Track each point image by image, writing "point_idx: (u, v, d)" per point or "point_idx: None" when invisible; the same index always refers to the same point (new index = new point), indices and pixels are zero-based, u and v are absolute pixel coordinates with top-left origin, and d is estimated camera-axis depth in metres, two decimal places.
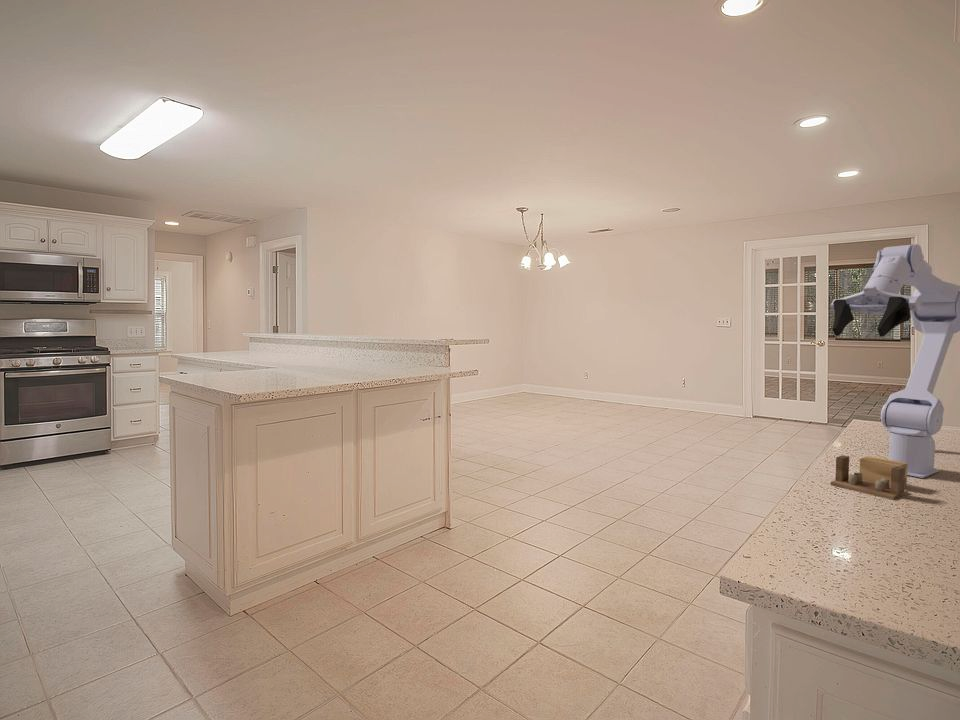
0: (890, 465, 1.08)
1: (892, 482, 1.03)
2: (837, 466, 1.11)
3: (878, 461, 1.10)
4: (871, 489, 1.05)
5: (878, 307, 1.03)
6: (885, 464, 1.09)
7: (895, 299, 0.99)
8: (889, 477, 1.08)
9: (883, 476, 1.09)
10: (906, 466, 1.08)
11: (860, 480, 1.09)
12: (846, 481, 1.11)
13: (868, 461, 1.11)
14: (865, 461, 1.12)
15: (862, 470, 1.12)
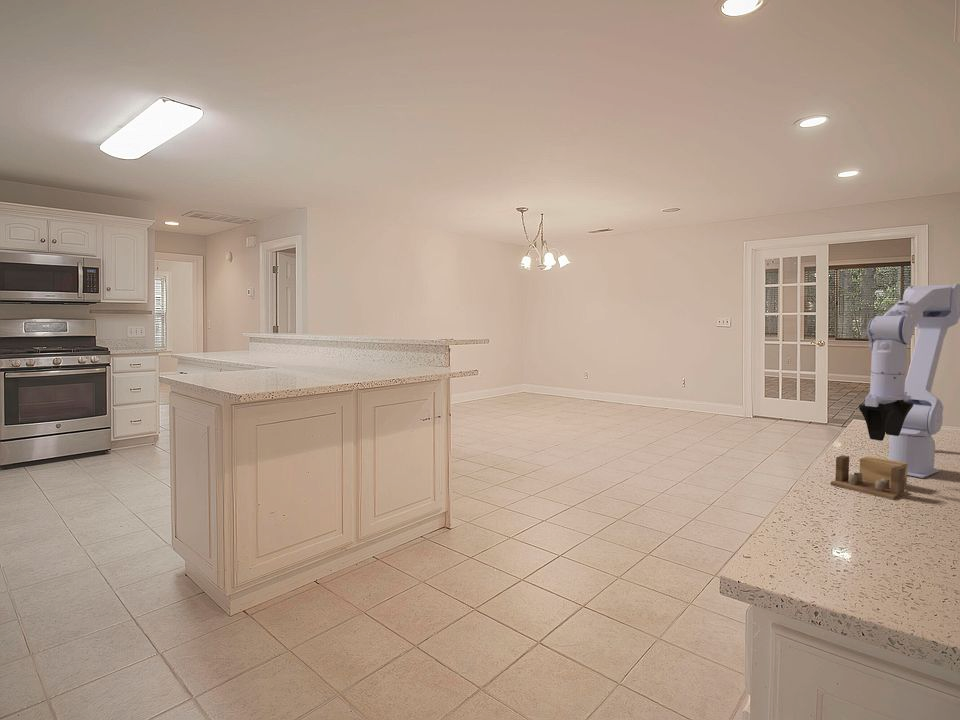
0: (890, 465, 1.08)
1: (892, 482, 1.03)
2: (837, 466, 1.11)
3: (878, 461, 1.10)
4: (871, 489, 1.05)
5: (888, 402, 1.10)
6: (885, 464, 1.09)
7: (911, 406, 1.10)
8: (889, 477, 1.08)
9: (883, 476, 1.09)
10: (906, 466, 1.08)
11: (860, 480, 1.09)
12: (846, 481, 1.11)
13: (868, 461, 1.11)
14: (864, 461, 1.12)
15: (862, 470, 1.12)
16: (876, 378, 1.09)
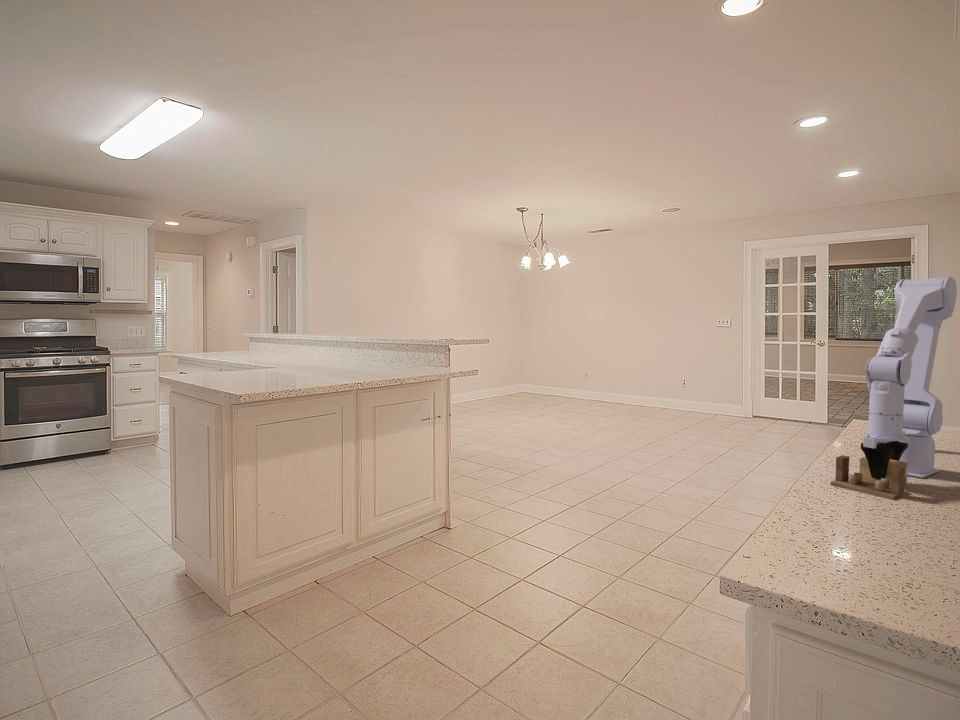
0: (890, 464, 1.08)
1: (892, 482, 1.03)
2: (837, 466, 1.11)
3: None
4: (871, 489, 1.05)
5: None
6: None
7: (905, 447, 1.10)
8: (889, 476, 1.08)
9: None
10: (906, 465, 1.08)
11: (860, 480, 1.09)
12: (846, 481, 1.11)
13: None
14: (864, 460, 1.12)
15: (862, 470, 1.12)
16: (874, 418, 1.09)
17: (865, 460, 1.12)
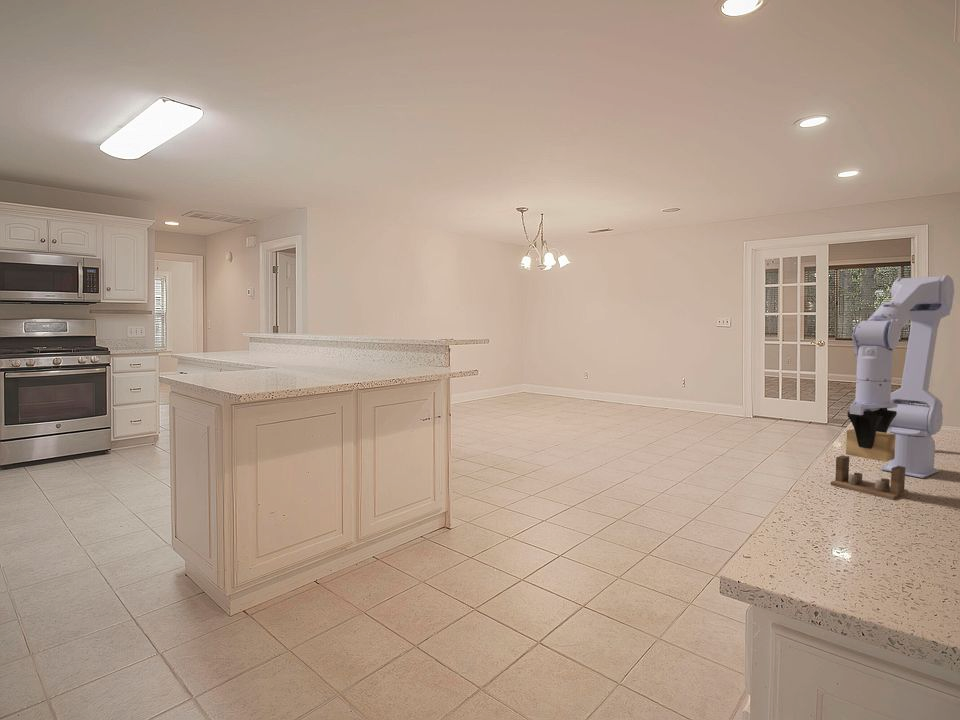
0: (877, 436, 1.04)
1: (892, 482, 1.03)
2: (837, 466, 1.11)
3: None
4: (871, 489, 1.05)
5: None
6: None
7: (894, 415, 1.06)
8: (876, 448, 1.04)
9: None
10: (894, 437, 1.04)
11: (860, 480, 1.09)
12: (846, 481, 1.11)
13: (855, 433, 1.07)
14: (851, 433, 1.08)
15: (849, 443, 1.08)
16: (861, 385, 1.05)
17: (852, 432, 1.08)
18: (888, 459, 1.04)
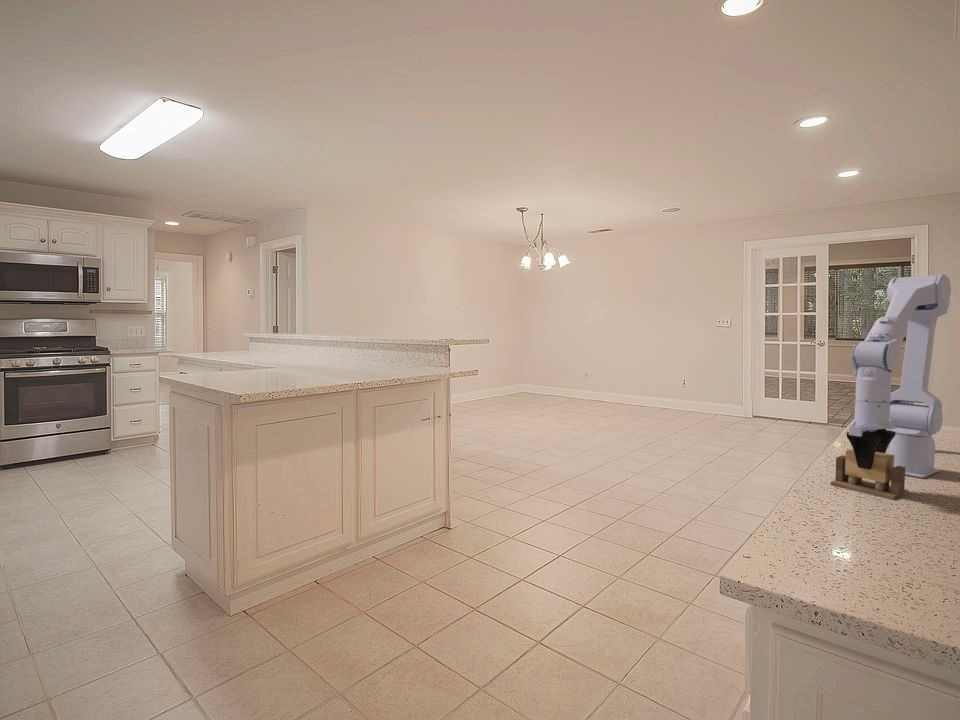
0: (876, 457, 1.04)
1: (892, 482, 1.03)
2: (837, 466, 1.11)
3: None
4: (871, 489, 1.05)
5: None
6: None
7: (893, 435, 1.06)
8: (875, 469, 1.04)
9: None
10: (893, 458, 1.05)
11: (860, 480, 1.09)
12: (846, 481, 1.11)
13: (854, 453, 1.08)
14: (850, 453, 1.08)
15: (848, 463, 1.09)
16: (860, 406, 1.06)
17: (851, 453, 1.08)
18: (887, 480, 1.04)
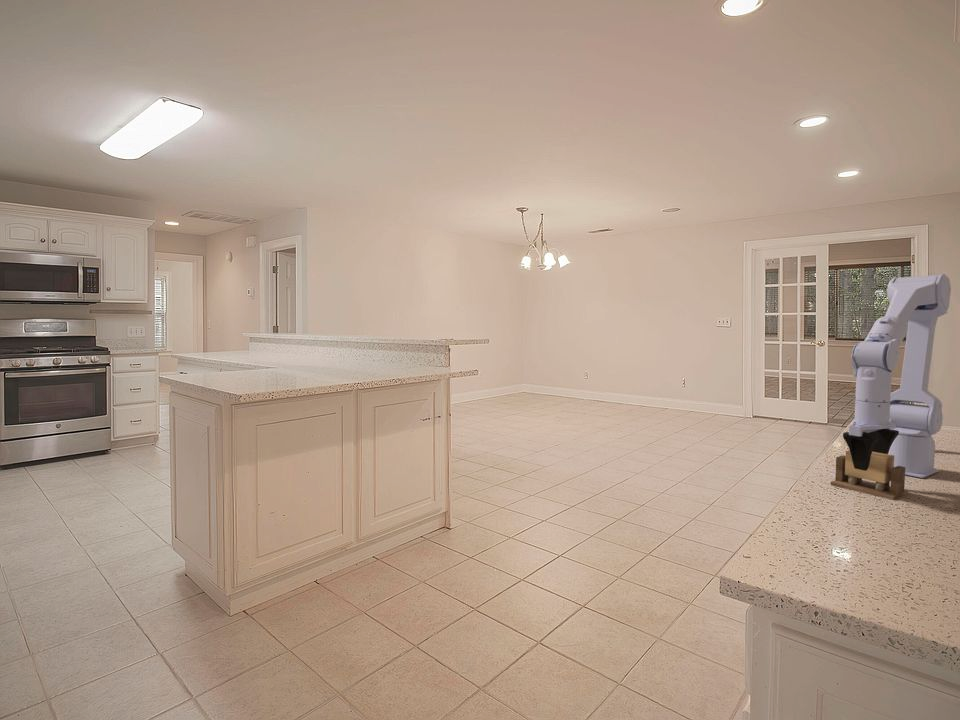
0: (876, 457, 1.04)
1: (892, 482, 1.03)
2: (837, 466, 1.11)
3: None
4: (871, 489, 1.05)
5: None
6: (871, 456, 1.05)
7: (896, 434, 1.07)
8: (875, 470, 1.04)
9: (869, 469, 1.05)
10: (893, 458, 1.05)
11: (860, 480, 1.09)
12: (846, 481, 1.11)
13: None
14: (850, 453, 1.08)
15: (848, 463, 1.09)
16: (860, 406, 1.06)
17: None
18: (887, 480, 1.04)
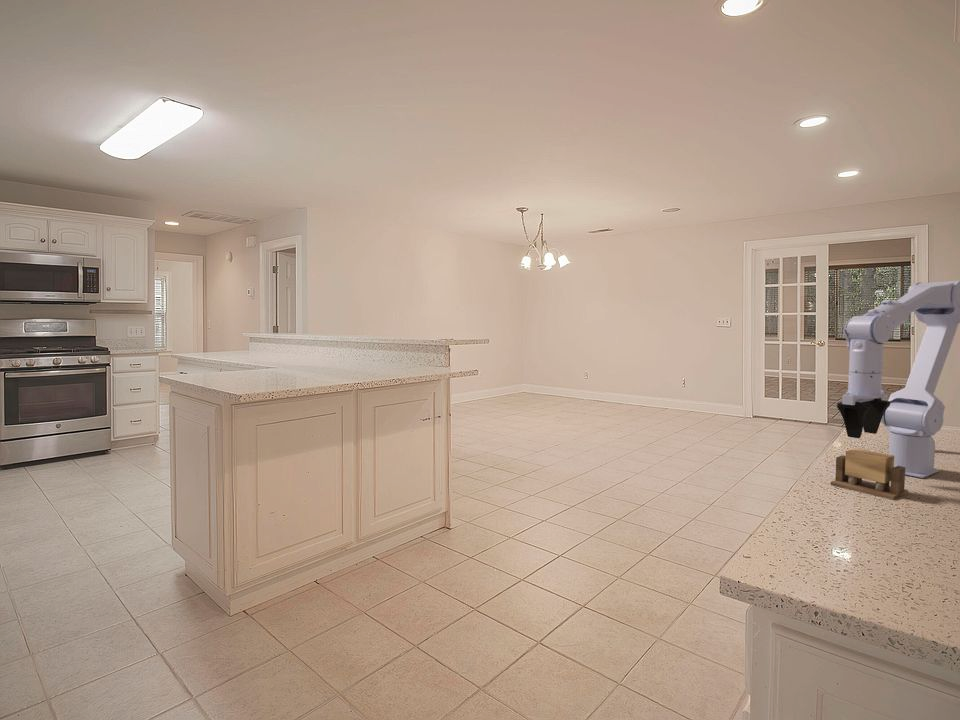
0: (876, 457, 1.04)
1: (892, 482, 1.03)
2: (837, 466, 1.11)
3: (864, 453, 1.07)
4: (871, 489, 1.05)
5: (866, 400, 1.12)
6: (871, 456, 1.05)
7: (888, 404, 1.12)
8: (875, 470, 1.04)
9: (869, 469, 1.05)
10: (893, 458, 1.05)
11: (860, 480, 1.09)
12: (846, 481, 1.11)
13: (854, 454, 1.08)
14: (850, 453, 1.08)
15: (848, 463, 1.09)
16: (853, 377, 1.11)
17: (851, 453, 1.08)
18: (887, 480, 1.04)
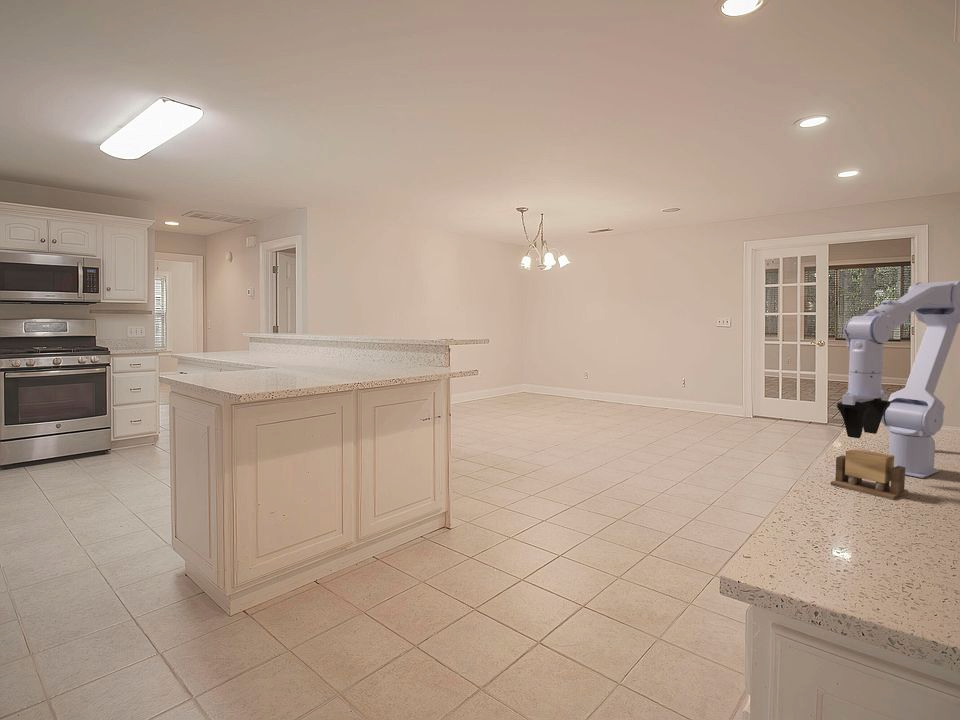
0: (876, 457, 1.04)
1: (892, 482, 1.03)
2: (837, 466, 1.11)
3: (864, 453, 1.07)
4: (871, 489, 1.05)
5: (866, 400, 1.12)
6: (871, 456, 1.05)
7: (888, 404, 1.12)
8: (875, 470, 1.04)
9: (869, 469, 1.05)
10: (893, 458, 1.05)
11: (860, 480, 1.09)
12: (846, 481, 1.11)
13: (854, 454, 1.08)
14: (850, 453, 1.08)
15: (848, 463, 1.09)
16: (853, 377, 1.11)
17: (851, 453, 1.08)
18: (887, 480, 1.04)
